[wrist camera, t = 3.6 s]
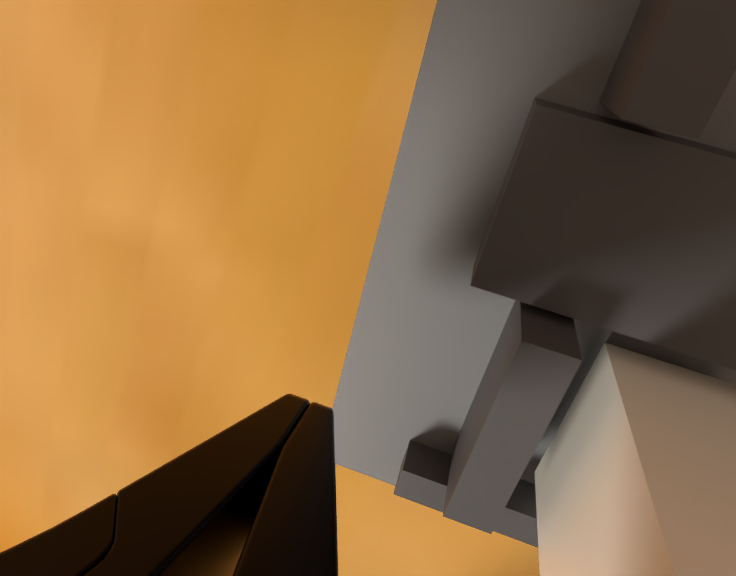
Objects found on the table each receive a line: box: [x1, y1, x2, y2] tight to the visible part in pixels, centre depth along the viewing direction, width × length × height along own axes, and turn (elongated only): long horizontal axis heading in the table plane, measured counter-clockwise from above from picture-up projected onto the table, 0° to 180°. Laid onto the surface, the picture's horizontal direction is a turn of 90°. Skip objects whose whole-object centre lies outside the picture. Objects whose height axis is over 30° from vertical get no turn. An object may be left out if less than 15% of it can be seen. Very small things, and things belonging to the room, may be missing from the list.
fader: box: [535, 343, 736, 576], centre depth 8 cm, size 2×4×5 cm, turn 167°
